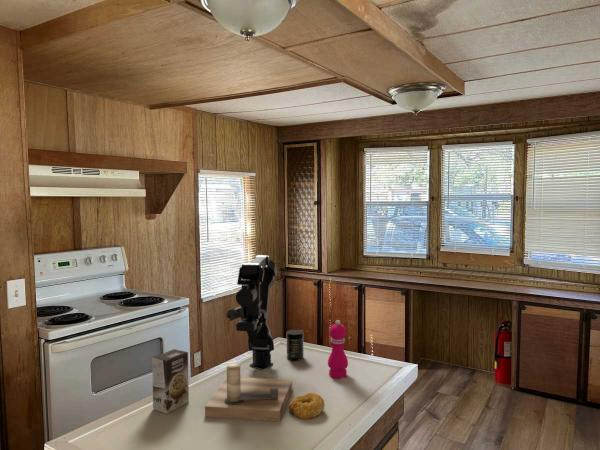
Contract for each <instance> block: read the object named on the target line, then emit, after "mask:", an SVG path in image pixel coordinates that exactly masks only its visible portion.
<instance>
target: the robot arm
mask: <svg viewBox="0 0 600 450" xmlns="http://www.w3.org/2000/svg"><path fill="white" fill-rule="evenodd" d="M276 264H277V263H275V262H274V261H273V260H272V259H271V258H270V255H267V254H264V255H263V254H258V255H256V256H255V258H254V259H253V260H251V261H250V262H243V263H242V264H241V265H240V266H239V270H238V271H239V272H238V277H237V283H236V285H237V286H241V288H240V290H238V291H237V292H236V294H235V300H236V303H237V304H238V305H240V306H237V307H232V308H229V309H227V312H226V314H225V315H226V316H225V317H226V319H228V320H229V322H231V321H232V322H233V321H234V320H237V319H239V318H240V320H239V321H238V322H237V323H236V324H235V331H237V332H246V334H247V337H248V339H247V342H248V345H247V346H248V351H249V352H252V363H250V364H249V366H250V367H252V368H256V369H259V370H264V369H266V368H269V367H270V366H273V365H274V363H273V362H272V354H271V352H272V351H274V350H275V344H274V339H273V336H272V334H271V333H272V331H271V330H270V328H269V326H268V319H269V308H270V294H271V288H272V286H273V285H274V284H275V281H276V277H277V275H278V269H277V265H276Z"/></svg>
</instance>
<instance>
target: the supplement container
mask: <svg viewBox="0 0 600 450" xmlns="http://www.w3.org/2000/svg"><path fill="white" fill-rule="evenodd" d="M285 338H286V358H287V360H290V361H293V362H294V361H295V362H296V361H300V360H302V359H303V358H304V331H303V330H300V329H289V330H287V331H286V336H285Z"/></svg>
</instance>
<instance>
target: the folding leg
mask: <svg viewBox="0 0 600 450" xmlns="http://www.w3.org/2000/svg"><path fill="white" fill-rule="evenodd" d="M240 377H241V365H240V364H239V363H229V364H227V365H226V379H227V400H228V401H230V402H236V401H239V400H248V399H264V398H271V399H278V388H276V387H273V388H270V391H262V392H246V393H241V382H240Z"/></svg>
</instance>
